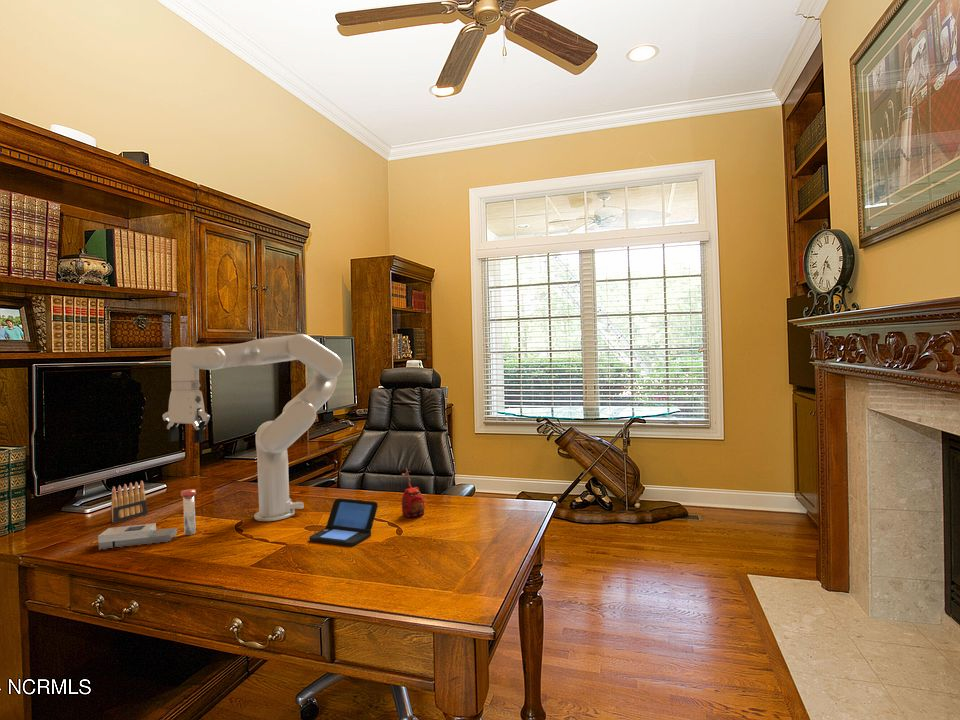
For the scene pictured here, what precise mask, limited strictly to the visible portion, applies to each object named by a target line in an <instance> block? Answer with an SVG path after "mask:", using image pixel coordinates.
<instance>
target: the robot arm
mask: <svg viewBox="0 0 960 720" xmlns="http://www.w3.org/2000/svg"><path fill="white" fill-rule="evenodd" d="M297 360H298V361H299V362H301V363H302V364H304V365H305V366H307V367H308V368H310V369H311V370H312V372H313V376H312V378H311V380H310V382H309V383H308V385H306V386H305V387H304V388H303V389H302V390H301V391H300V392H299V393H298V394H296V396H295V397H293V398H292V399H291V400H289V401H288V402H287V403H286V404H285V406H284V407H283V409H282V411H281V412H282V413H280V414H279V415H278V416H277V417H276V418H274V420H267V421H265V422H262V423H261V424H260V426H258V428H257V430H256V433H255V448H256V459H257V461H256V462H257V463H256V464H257V487H258V488H257V489H258V491H257V492H258V509H259V510H258V511H257V512H256V513H254V516H253V517H254V520H256V521H258V522H273V521H280V520H284V519H288V518H290V517H292V516H294V515H295V513H296V510H295V509H298V510H299V509H304V508H305V507H304V502H303V501H295V502H294V501H292V498H290V484H289V483H290V481H289V480H290V479H289V455H288V449H289V447H291V446H292V445H293V444H294V443H295V442H296V441H297V440H298V439H299V438H301V436H302V435H304V434H305V433H306V431H308V429H310V428H311V427H312V426H313V424H314V423H315V420H316V418H317V412H318V411H319V410H320V409H321V408H322V407H323V406H324V405H325V404H326V403H327V402H328V401H329V400H330V398H332V395H333V394H334V392H335V390H336V387H337V383H338V376H339V375H340V374H342V371H343V368H344V364H343V361H342V358H340V357H339V355H338V354H336V353H335V352H333V351H332V350H330V349H329V348H327V347H325V346H324V345H322V344H321V343H319V342H318V341H317V340H315V339H314V338H312V337H311V336H309V335H308V334H306V333H305V334H304V333H297V334H292V335H283V336H273V337H267V338H266V337H265V338H258V339H252V340H249V341H246V342H241V343H235V344H227V345H219V346H214V345H213V346H212V345H210V346H203V347H202V346H201V347H194V346H182V347H181V346H178V347H177V346H176V347H174V348H172V349H171V351H170V364H171V365H170V366H171V367H170V369H171V371H170V372H171V373H170V374H171V375H170V376H171V378H170V379H171V380H170V381H171V384H170V385H171V391H170V394H169V399H168V411H166V412H164V413H163V414H162V420H163V421H164V424H165V426H166V429H167V430H168V442H169V443H174V442H178V441H179V440H180V436H179V435H180V434H179V433H180V432H179V430H180V428H178V426H179V425H180V424H182V425H183V424H186V425H192V426H193V428H194V430H193V443H194V444H199V443H204V440H205V438H204V434H205V429H206V426H207V425H208V424H209V421H210V418H211V415H210V414H208V413H207V412H206V411H205V403H204V397H203V391H202V390H200V387H201V386H202V385H201V383H200V370H206V371H207V370H208V371H216V370H220V369H227V368H233V367H234V368H235V367H243V366H263V365H269V364H277V363H282V362H290V361H297Z"/></svg>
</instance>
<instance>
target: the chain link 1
mask: <svg viewBox="0 0 960 720" xmlns="http://www.w3.org/2000/svg"><path fill="white" fill-rule="evenodd" d="M156 524H157V523H156V522H154V523H146V524H137V525H128V526H127V525H125V526H115V527H108V528H107V529H105V530H104V531H103V532H101V533H100V534H98V535H97V537H98V538H97V541H98V550H99V551H100V550H101V549H103V550H108V549H107V548H112V549H114V548H115V547H114V546H115V541H120V540H129V539H138V538H148V537H149V536H150V535H151V534H152V533H153V532H154V531H155V530H157V525H156ZM113 547H114V548H113Z"/></svg>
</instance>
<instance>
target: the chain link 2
mask: <svg viewBox="0 0 960 720" xmlns="http://www.w3.org/2000/svg"><path fill="white" fill-rule="evenodd" d="M176 534H178V528H177V527H170V528H162V529H161V528H160V529H159V528H158V529H156V530H155V531H154V532H153V533H152V534H151V535H150V536H149V537H148V538H138V539H129V540H120V541H115V547H120V548H124V547H123V546H129V547H131V546H130V545H138V546H140V545H139V544H147V545H153V544H152V543H156V544H161V543H160V542H165V543H169V542H168V541H170V542H171V541H172V540H173V539H174V538H175V537H176V536H177V535H176ZM175 535H176V536H175ZM174 536H175V537H174ZM173 537H174V538H173ZM172 538H173V539H172ZM115 547H114V548H115Z"/></svg>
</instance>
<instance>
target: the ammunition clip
mask: <svg viewBox="0 0 960 720" xmlns="http://www.w3.org/2000/svg"><path fill="white" fill-rule="evenodd" d="M116 490H117V491H116ZM147 506H148V505H147V499H146V492H145V483H144V481H143V480H140V483H138V482H137V481H135V483H134V488H133V483H132V482H129V486H127V484H126V483H124V484H123V489H122V486H121V485H120V484H119V485H118V487H117V489H116V486H114V485H113V486H112V490H111V507H110V523H113V524H117V523H120V521H121V522H124V521H123V520H125V521H127V519H128V520H131V519H130V518H132V519H134V518H133V517H136V518H139V517H142V516H141V515H143V516H146V515H145V514H147V515H148V507H147ZM138 516H139V517H138Z"/></svg>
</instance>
